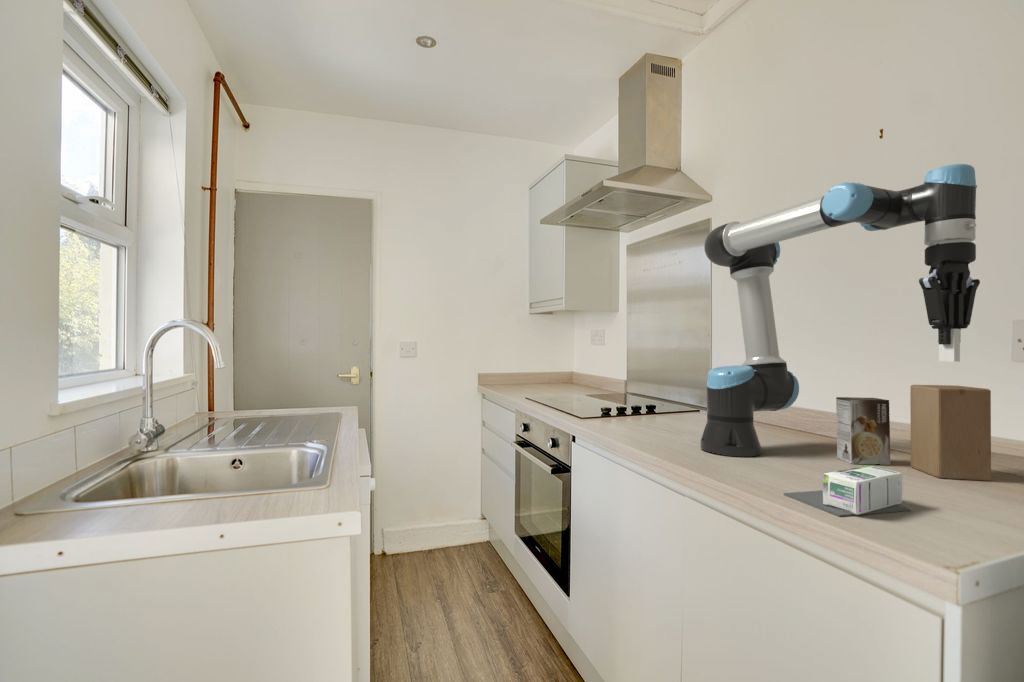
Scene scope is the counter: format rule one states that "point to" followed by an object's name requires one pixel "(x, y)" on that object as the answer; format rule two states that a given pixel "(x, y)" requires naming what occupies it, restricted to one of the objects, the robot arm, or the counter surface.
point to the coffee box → (863, 430)
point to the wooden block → (951, 431)
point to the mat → (817, 501)
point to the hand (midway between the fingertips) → (949, 361)
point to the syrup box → (862, 489)
